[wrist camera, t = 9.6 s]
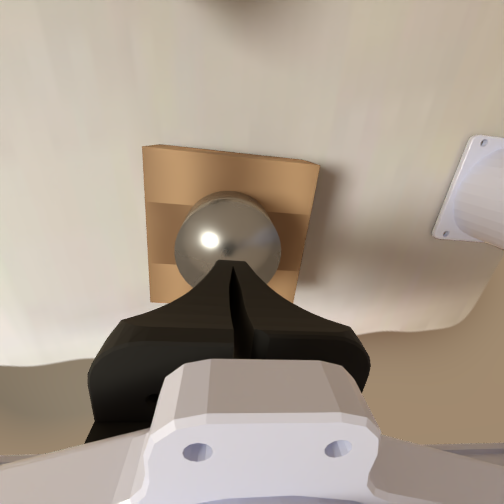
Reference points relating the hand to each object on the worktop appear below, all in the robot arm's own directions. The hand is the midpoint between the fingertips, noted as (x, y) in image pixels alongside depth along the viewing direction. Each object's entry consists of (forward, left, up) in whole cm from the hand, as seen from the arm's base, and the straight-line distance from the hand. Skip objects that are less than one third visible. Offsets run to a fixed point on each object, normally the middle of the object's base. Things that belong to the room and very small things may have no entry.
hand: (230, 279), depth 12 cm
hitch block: (0, 0, -9) cm, 9 cm away
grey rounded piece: (0, 0, -9) cm, 9 cm away
